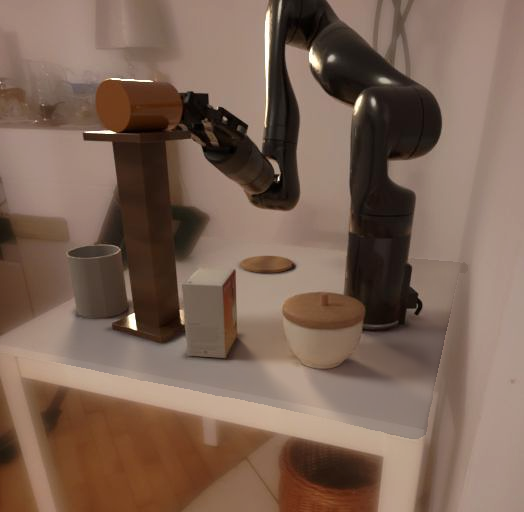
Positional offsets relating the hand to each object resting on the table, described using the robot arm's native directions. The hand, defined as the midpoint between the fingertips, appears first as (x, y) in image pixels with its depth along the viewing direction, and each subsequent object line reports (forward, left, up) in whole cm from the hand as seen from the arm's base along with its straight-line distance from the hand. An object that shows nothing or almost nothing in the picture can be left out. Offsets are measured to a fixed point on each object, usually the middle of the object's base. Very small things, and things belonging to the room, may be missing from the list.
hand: (175, 97), depth 70 cm
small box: (-4, +15, -32) cm, 36 cm away
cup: (+15, -1, -32) cm, 36 cm away
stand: (+5, +7, -32) cm, 33 cm away
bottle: (+2, +3, -4) cm, 6 cm away
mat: (-16, -23, -32) cm, 43 cm away
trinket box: (-18, +21, -32) cm, 43 cm away
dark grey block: (-1, -2, -1) cm, 3 cm away
